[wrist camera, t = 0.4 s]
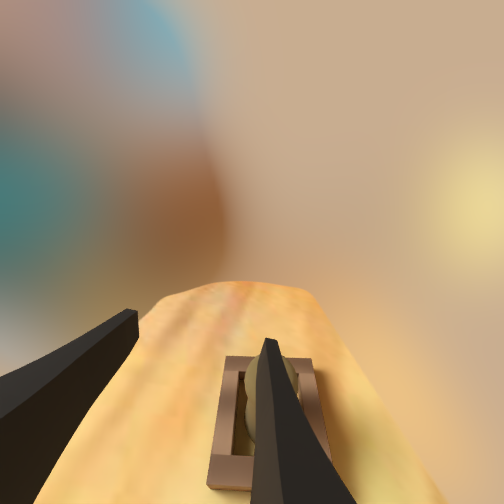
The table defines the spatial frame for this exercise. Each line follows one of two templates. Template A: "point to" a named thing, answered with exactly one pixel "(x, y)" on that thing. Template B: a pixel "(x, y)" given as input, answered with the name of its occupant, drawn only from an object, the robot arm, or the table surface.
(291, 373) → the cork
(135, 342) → the robot arm
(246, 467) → the walnut holder
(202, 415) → the table surface
